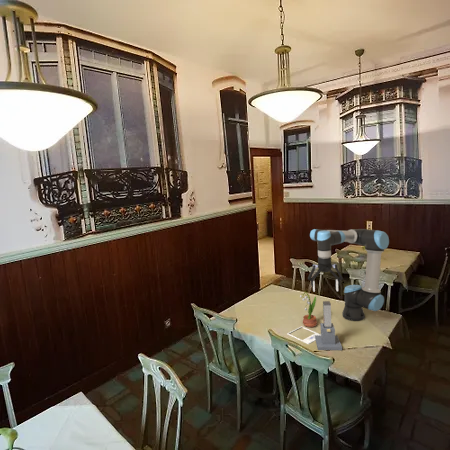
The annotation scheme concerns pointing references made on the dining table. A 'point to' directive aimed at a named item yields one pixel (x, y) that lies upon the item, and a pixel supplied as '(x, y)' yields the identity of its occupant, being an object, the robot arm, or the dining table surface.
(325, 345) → the jack stand
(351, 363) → the dining table surface
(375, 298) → the robot arm
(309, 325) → the potted flower
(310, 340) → the photo frame
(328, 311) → the post
